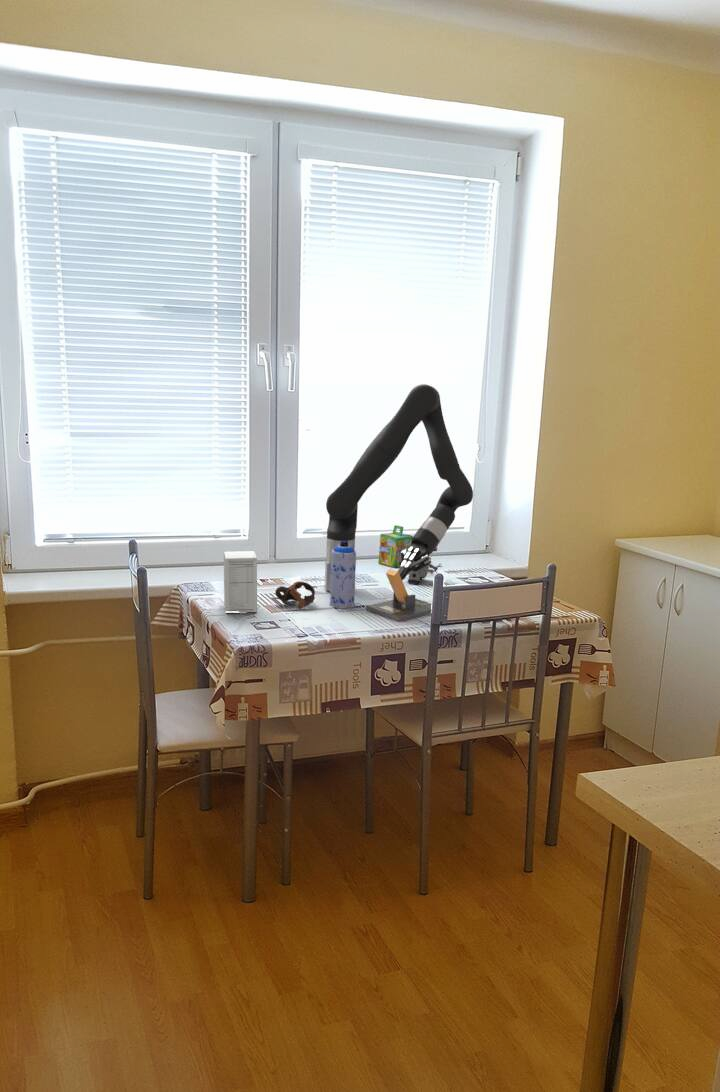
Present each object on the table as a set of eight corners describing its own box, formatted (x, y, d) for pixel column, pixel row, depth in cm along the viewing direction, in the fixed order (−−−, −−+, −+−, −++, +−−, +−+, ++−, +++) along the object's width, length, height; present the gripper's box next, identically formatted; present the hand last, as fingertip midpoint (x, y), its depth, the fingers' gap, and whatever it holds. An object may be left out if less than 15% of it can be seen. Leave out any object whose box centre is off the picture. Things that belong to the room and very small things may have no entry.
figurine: (436, 586, 274) (438, 543, 271) (403, 583, 277) (405, 540, 274) (440, 580, 282) (443, 538, 279) (408, 577, 285) (410, 535, 282)
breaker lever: (402, 599, 246) (389, 569, 239) (411, 602, 243) (398, 571, 237) (398, 603, 245) (385, 573, 238) (407, 606, 242) (394, 575, 236)
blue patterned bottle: (357, 602, 251) (360, 539, 247) (351, 609, 244) (353, 544, 239) (333, 600, 253) (335, 537, 249) (326, 606, 245) (328, 542, 241)
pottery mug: (306, 600, 253) (315, 581, 249) (309, 621, 246) (319, 602, 241) (270, 593, 249) (279, 573, 244) (272, 614, 241) (281, 594, 237)
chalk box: (377, 563, 304) (379, 525, 301) (395, 560, 310) (396, 523, 307) (395, 568, 298) (397, 529, 295) (412, 565, 304) (414, 526, 301)
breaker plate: (408, 601, 255) (409, 584, 254) (440, 611, 245) (442, 594, 244) (366, 610, 243) (366, 592, 242) (398, 621, 233) (399, 603, 232)
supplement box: (255, 604, 245) (255, 550, 241) (257, 613, 236) (258, 557, 232) (223, 605, 243) (223, 550, 239) (224, 614, 234) (224, 557, 230)
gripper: (408, 523, 248) (377, 566, 242) (440, 530, 238) (408, 575, 233) (419, 539, 252) (388, 581, 247) (450, 546, 243) (419, 591, 237)
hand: (398, 578), depth 240 cm, fingers closed
